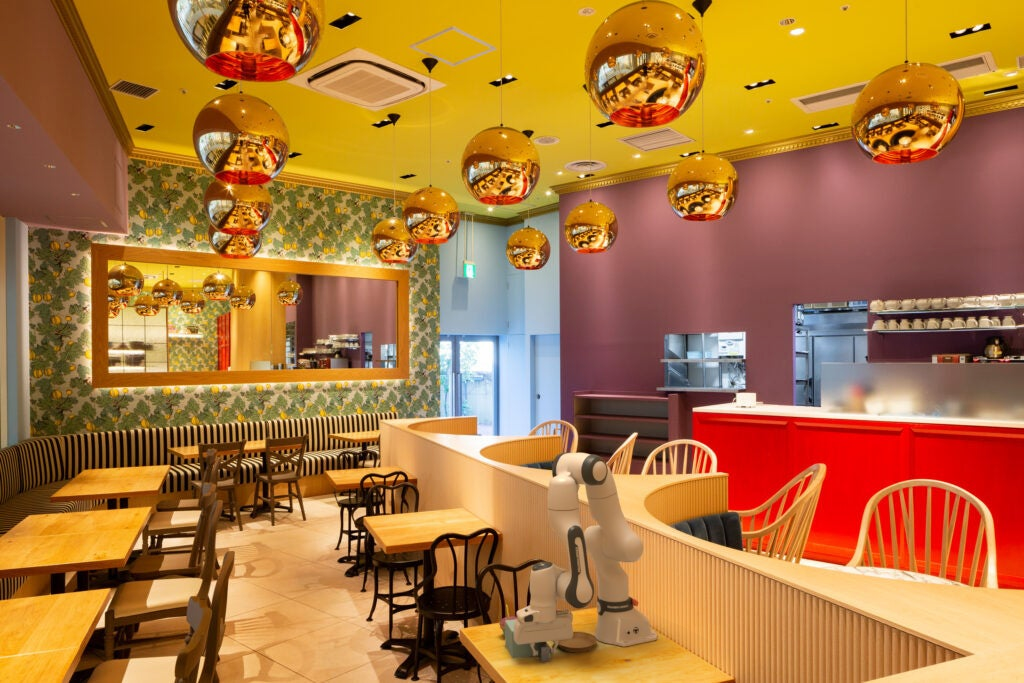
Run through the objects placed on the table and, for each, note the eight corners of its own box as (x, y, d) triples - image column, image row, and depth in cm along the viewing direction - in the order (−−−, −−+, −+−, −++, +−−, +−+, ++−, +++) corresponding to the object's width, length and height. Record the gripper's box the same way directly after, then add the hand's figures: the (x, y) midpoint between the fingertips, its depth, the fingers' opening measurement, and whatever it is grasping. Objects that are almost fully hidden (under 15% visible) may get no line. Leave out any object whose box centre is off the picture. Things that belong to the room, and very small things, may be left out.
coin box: (538, 642, 239) (537, 617, 240) (546, 654, 229) (546, 628, 229) (505, 645, 237) (505, 620, 237) (512, 658, 226) (512, 631, 226)
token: (546, 656, 228) (545, 641, 228) (550, 662, 223) (550, 646, 223) (537, 657, 227) (537, 642, 227) (541, 663, 222) (541, 647, 222)
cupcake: (495, 639, 243) (495, 605, 244) (506, 631, 250) (506, 598, 251) (516, 643, 239) (516, 608, 240) (527, 635, 246) (526, 601, 247)
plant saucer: (591, 657, 226) (591, 649, 226) (549, 652, 231) (549, 644, 231) (600, 641, 240) (600, 633, 240) (561, 636, 245) (561, 629, 245)
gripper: (569, 606, 231) (570, 647, 230) (512, 612, 226) (512, 653, 226) (575, 612, 225) (576, 654, 224) (516, 618, 220) (517, 661, 219)
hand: (543, 654), depth 225 cm, fingers open, 5 cm apart
